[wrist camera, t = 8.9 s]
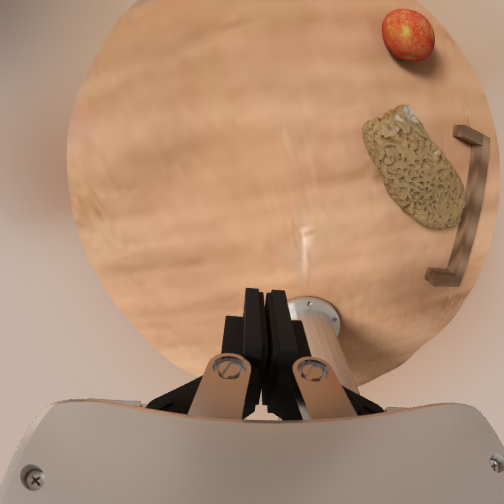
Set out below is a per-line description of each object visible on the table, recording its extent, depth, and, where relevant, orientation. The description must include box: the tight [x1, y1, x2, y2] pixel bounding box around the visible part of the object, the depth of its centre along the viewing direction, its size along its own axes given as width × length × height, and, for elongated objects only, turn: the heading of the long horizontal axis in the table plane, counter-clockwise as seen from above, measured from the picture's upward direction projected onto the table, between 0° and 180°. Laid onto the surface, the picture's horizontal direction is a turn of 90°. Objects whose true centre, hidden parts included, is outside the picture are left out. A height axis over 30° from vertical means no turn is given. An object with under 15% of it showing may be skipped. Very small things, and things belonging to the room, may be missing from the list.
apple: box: [382, 9, 435, 61], centre depth 24 cm, size 8×8×8 cm
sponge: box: [362, 105, 466, 230], centre depth 33 cm, size 13×8×20 cm
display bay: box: [425, 125, 490, 287], centre depth 36 cm, size 27×7×3 cm, turn 175°
